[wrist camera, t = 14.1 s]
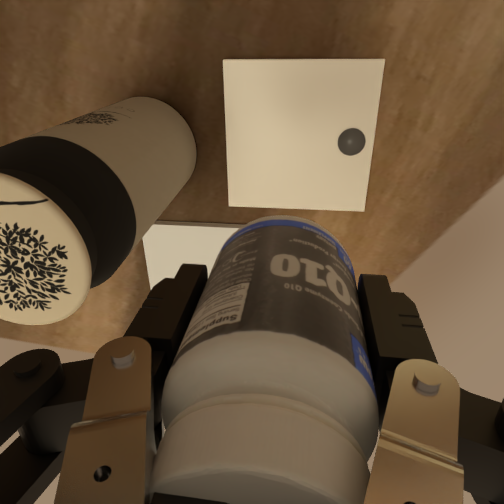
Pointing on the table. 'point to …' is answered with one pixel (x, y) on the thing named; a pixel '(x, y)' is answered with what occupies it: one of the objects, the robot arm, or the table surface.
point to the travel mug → (84, 202)
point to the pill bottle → (272, 376)
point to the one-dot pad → (300, 131)
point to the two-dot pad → (183, 246)
